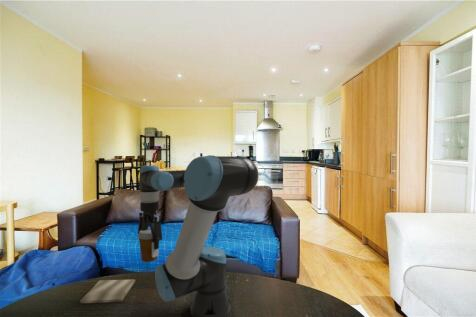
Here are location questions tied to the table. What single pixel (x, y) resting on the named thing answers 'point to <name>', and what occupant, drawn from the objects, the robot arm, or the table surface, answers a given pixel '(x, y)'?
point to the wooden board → (108, 291)
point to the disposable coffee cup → (146, 245)
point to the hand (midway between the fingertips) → (149, 253)
